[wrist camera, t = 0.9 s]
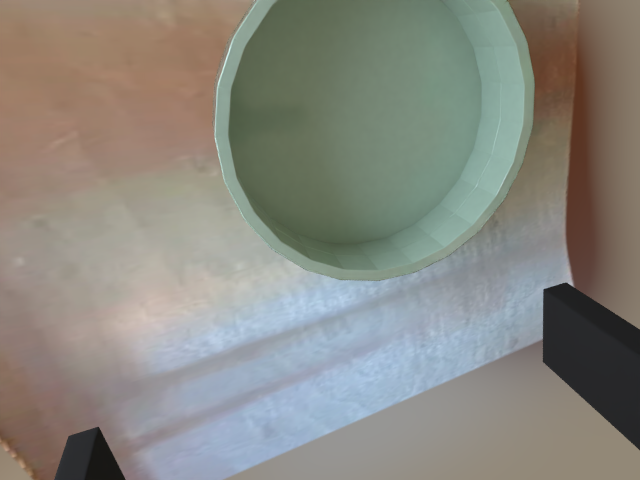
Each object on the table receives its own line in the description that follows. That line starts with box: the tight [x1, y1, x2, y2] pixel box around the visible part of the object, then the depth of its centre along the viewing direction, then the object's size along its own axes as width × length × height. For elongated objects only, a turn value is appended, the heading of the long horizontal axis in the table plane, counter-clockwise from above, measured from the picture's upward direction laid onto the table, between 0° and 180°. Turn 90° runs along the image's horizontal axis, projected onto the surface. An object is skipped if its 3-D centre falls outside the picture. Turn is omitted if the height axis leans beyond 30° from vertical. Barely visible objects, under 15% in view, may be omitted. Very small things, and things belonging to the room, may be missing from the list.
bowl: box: [212, 0, 535, 281], centre depth 32 cm, size 21×21×6 cm
